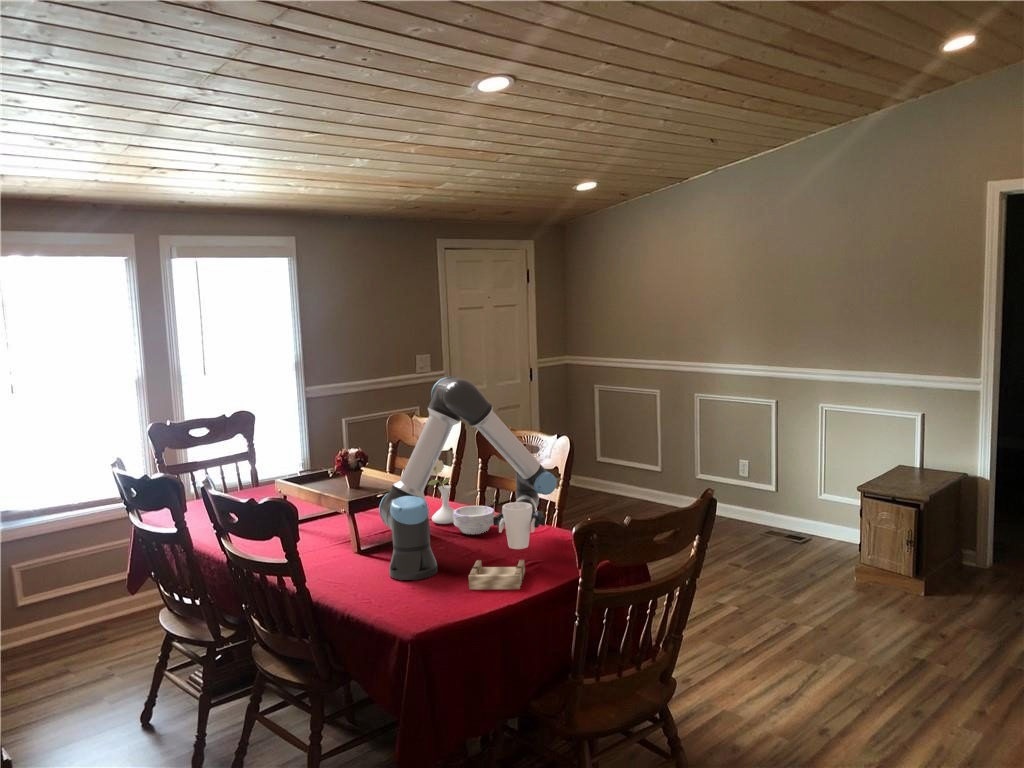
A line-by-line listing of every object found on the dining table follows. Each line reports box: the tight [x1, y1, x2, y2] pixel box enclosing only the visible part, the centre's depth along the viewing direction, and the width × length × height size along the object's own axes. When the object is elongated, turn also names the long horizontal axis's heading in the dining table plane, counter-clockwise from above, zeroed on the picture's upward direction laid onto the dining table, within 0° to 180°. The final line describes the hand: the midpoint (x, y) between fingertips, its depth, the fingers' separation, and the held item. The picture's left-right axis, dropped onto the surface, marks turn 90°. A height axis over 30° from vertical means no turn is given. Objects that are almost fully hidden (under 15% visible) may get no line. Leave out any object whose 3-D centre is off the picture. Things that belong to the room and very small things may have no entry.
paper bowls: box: [453, 505, 496, 536], centre depth 294 cm, size 15×15×8 cm
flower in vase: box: [426, 458, 455, 525], centre depth 307 cm, size 13×11×25 cm
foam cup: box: [501, 501, 532, 550], centre depth 253 cm, size 10×9×13 cm
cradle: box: [467, 559, 526, 590], centre depth 242 cm, size 16×15×4 cm
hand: (516, 528), depth 248 cm, fingers closed on foam cup, 9 cm apart
